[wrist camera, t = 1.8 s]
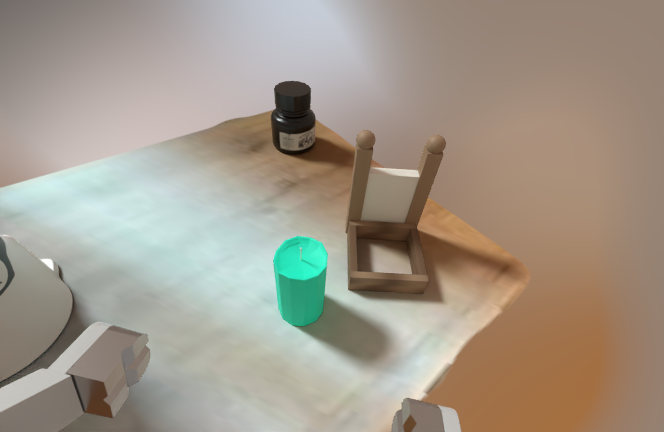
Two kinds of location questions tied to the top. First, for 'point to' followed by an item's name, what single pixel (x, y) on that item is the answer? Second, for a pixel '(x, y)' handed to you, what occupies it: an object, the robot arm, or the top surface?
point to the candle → (300, 279)
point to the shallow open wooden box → (386, 280)
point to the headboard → (391, 184)
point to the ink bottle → (293, 118)
